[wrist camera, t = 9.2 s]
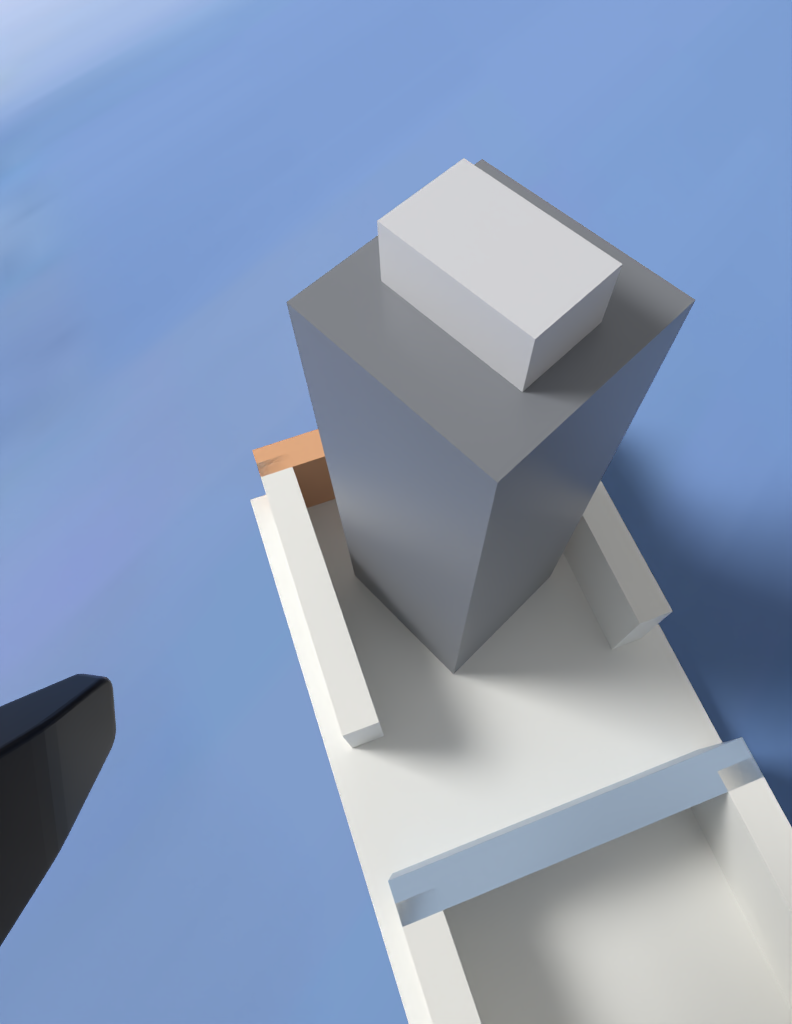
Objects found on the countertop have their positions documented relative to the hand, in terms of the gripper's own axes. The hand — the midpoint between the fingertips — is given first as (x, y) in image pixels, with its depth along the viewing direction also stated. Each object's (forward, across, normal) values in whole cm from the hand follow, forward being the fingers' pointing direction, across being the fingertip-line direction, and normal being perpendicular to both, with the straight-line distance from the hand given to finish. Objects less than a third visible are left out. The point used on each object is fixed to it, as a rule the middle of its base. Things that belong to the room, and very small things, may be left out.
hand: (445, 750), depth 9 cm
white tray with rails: (+10, -3, +8) cm, 13 cm away
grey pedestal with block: (+13, 0, +4) cm, 14 cm away
